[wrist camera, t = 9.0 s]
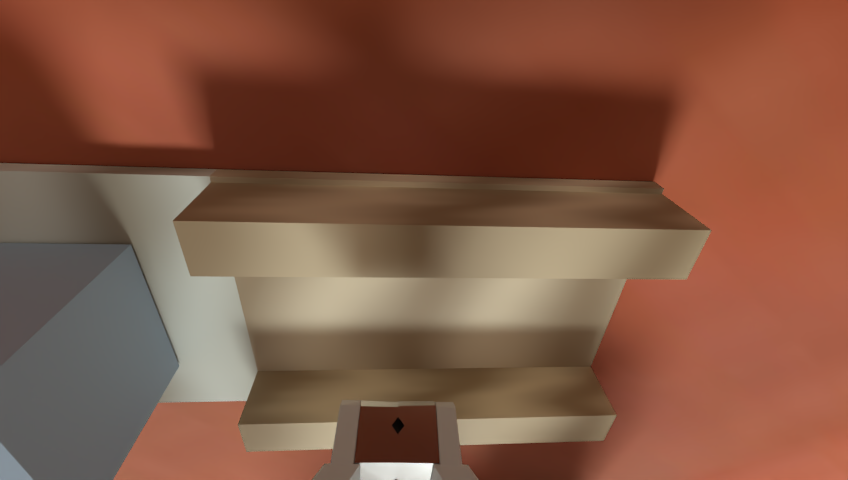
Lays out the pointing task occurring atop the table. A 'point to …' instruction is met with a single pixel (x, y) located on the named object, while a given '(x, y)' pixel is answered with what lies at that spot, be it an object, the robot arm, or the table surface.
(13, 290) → the slate block
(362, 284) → the chute
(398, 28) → the table surface
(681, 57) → the table surface
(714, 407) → the table surface
